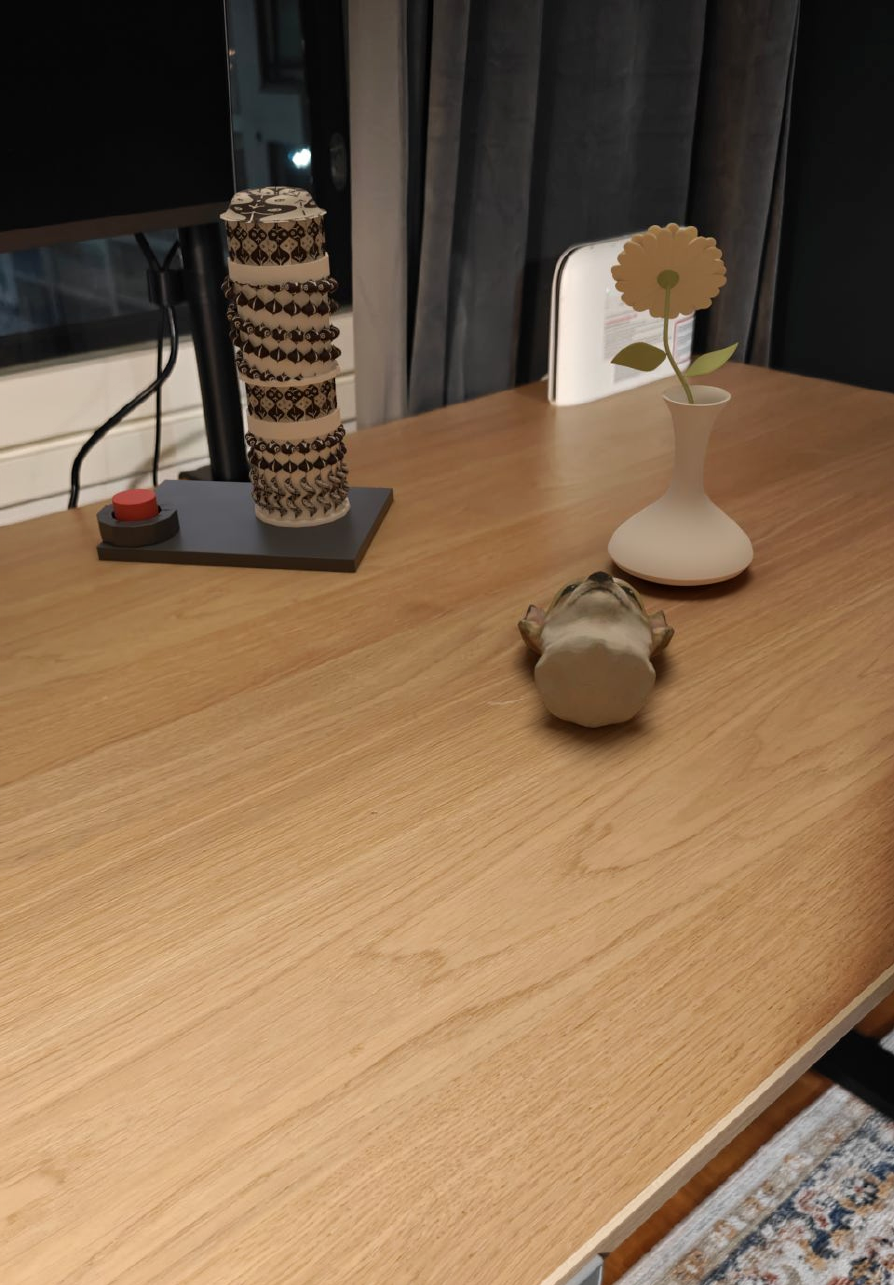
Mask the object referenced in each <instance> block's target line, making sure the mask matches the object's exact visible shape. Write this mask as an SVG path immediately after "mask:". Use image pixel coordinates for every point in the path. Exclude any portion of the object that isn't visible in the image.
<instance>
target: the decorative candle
mask: <svg viewBox="0 0 894 1285" xmlns="http://www.w3.org/2000/svg"><path fill="white" fill-rule="evenodd" d="M325 214H327V211H326V209H324V208H320V207H319V206H318V205H317V203H316V201H315V200H314V198H313V197H312V195H311V194H310V192H309V191H308V190H306V189H303V188H301V187H295V186H264V187H253V188H246V189H242V190H240V191H238V192H236V193H235V194H234V195H233V196H232V198H231V200H230V203H229V206H228V208H227V210H226V212H223V213H221V214H220V215H219V218H220V219H221V220H224V223H225V232H226V239H227V248H228V257H227V264H228V265H227V266H228V275H227V276H225V278H224V279H223V283H222V284H221V286H220V288H221V291H222V292H223V295H224V297H225V298H226V299H228V300H230V301H231V303H230V304H229V305H228V307H227V312H226V319H227V320H228V321H229V322H230V324H231V326H232V327H231V330H230V332H229V334H228V335H229V338H230V339H231V343H232V346H235V347H237V348H239V349H238V350H237V351H236V353H235V358H234V360H233V361H234V364H235V366H236V367H237V375H238V380H240V381H242V382H243V383H244V388H245V397H246V405H247V408H245V413H246V414H245V415H246V421H247V422H246V423H247V431H246V433H245V434H244V440H245V441H246V445H247V446H248V447H250V449H249V450H248V451H247V453H246V457H247V459H248V462H249V463H250V464H251V465H253V466H252V468H251V469H250V470H249V473H248V477H249V480H250V483H252V484H253V486H254V487H253V489H252V497H253V499H254V501H255V503H256V504H255V514H256V517H257V518H259V519H260V520H261V521H263V522H264V523H268V524H272V525H275V526H281V527H296V528H297V527H308V526H317V525H321V524H325V523H329V522H333V521H335V520H337V519H339V518H341V517H343V516H345V515H346V513H347V512H348V511H349V509H350V503H349V500H348V497H347V496H348V494H347V492H349V490H350V487H351V486H350V485H348V483H349V482H348V481H349V480H348V479H347V476H348V475H349V474H350V470H349V468H348V467H347V466H348V465H347V463H346V461H345V460H344V458H345V455H346V454H347V453H348V449H347V447H346V445H345V443H344V442H343V440H344V437H345V436H346V434H347V433H346V432H347V431H346V429H345V427H344V424H342V421H341V408H340V404H339V402H338V399H337V397H338V396H337V395H338V394H337V384H336V383H337V382H336V377H337V376H338V375H339V374H340V373H341V366H340V364H339V362H338V360H337V359H338V358H339V357H341V356H342V350H341V348H339V347H338V346H336V345H335V344H334V343H333V342H334V340H336V339H337V338H339V336H340V334H341V331H340V328H339V327H337V326H335V325H334V324H333V323H332V322H331V323H330V317H331V316H332V315H334V314H335V313H336V312H337V311H339V310H340V308H341V305H340V302H338V301H337V300H335V299H334V298H333V297H332V296H331V295H333V293H334V292H335V291H337V290H338V289H339V282H338V280H336V279H335V278H333V277H332V276H331V272H330V260H329V258H330V257H329V254H328V252H327V250H326V237H325V225H324V215H325ZM328 294H329V295H330V297H329V296H328ZM332 343H333V344H332Z"/></svg>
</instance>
